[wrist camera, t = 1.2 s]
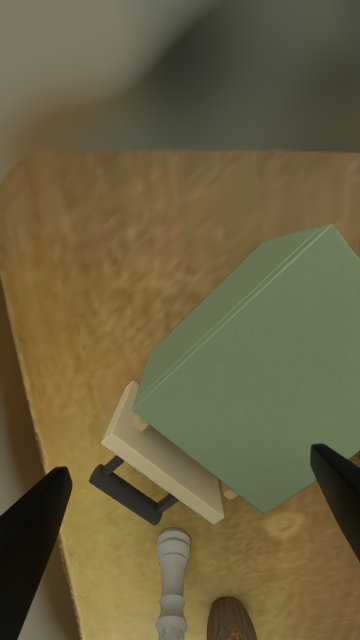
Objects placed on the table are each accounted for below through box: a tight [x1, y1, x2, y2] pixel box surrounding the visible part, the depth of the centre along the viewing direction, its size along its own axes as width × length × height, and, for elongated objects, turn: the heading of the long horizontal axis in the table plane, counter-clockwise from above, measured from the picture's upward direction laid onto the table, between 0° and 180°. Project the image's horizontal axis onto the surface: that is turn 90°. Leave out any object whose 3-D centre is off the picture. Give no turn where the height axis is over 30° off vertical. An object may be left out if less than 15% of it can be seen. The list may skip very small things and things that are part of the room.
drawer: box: [89, 381, 239, 525], centre depth 18 cm, size 19×11×7 cm, turn 136°
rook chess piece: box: [156, 528, 191, 640], centre depth 24 cm, size 4×4×8 cm
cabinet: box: [132, 224, 360, 514], centre depth 17 cm, size 15×13×9 cm
